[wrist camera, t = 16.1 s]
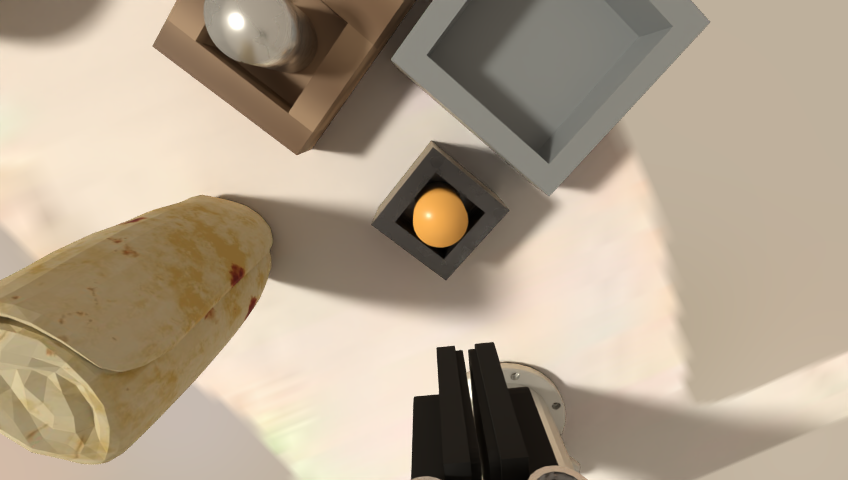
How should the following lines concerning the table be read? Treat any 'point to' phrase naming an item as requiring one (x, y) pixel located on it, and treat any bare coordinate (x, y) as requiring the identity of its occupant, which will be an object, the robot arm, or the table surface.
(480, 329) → the table surface
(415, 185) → the button housing
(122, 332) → the food model
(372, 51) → the brown compartment tray
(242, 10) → the cylinder
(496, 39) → the tray
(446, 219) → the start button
